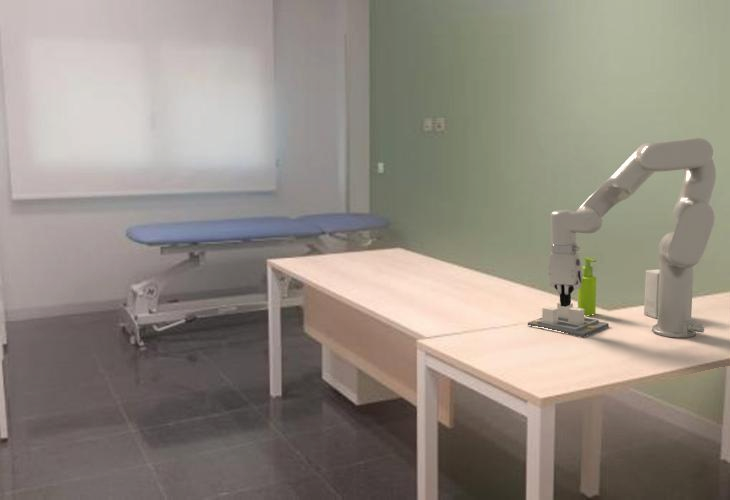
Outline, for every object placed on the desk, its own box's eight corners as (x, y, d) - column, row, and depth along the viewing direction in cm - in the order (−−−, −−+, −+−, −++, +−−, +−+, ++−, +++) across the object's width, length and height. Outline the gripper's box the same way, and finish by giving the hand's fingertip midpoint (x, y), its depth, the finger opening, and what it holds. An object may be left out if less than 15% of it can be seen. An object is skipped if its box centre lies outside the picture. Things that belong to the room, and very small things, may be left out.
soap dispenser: (585, 317, 234) (586, 260, 230) (574, 312, 240) (575, 256, 237) (600, 315, 235) (602, 258, 232) (589, 311, 242) (590, 255, 238)
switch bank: (608, 326, 221) (608, 320, 221) (583, 337, 211) (583, 331, 210) (554, 316, 236) (554, 310, 236) (527, 326, 225) (527, 320, 225)
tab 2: (572, 317, 228) (572, 303, 228) (567, 319, 226) (568, 304, 226) (561, 315, 231) (562, 301, 231) (557, 317, 229) (557, 303, 228)
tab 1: (558, 323, 222) (558, 308, 222) (553, 325, 220) (553, 310, 220) (547, 321, 225) (547, 306, 224) (542, 323, 223) (542, 308, 222)
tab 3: (584, 324, 220) (584, 309, 220) (579, 325, 218) (579, 310, 218) (572, 321, 223) (573, 307, 223) (568, 323, 221) (568, 308, 221)
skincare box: (655, 319, 229) (657, 273, 227) (642, 314, 235) (644, 270, 233) (676, 316, 231) (678, 271, 229) (663, 312, 237) (664, 268, 235)
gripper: (591, 248, 213) (593, 306, 216) (549, 246, 224) (551, 300, 226) (579, 252, 208) (580, 311, 211) (536, 249, 219) (538, 305, 221)
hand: (565, 305), depth 218 cm, fingers closed
